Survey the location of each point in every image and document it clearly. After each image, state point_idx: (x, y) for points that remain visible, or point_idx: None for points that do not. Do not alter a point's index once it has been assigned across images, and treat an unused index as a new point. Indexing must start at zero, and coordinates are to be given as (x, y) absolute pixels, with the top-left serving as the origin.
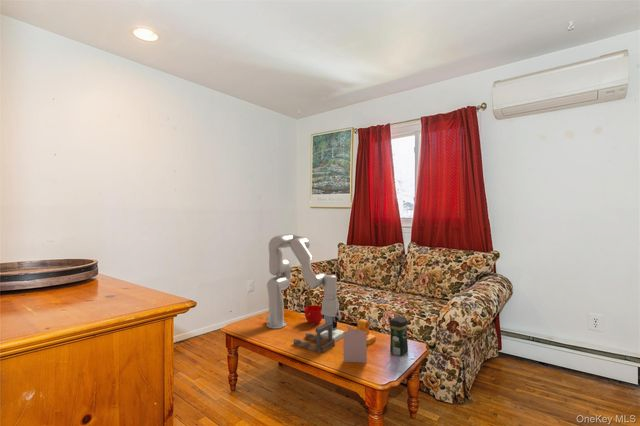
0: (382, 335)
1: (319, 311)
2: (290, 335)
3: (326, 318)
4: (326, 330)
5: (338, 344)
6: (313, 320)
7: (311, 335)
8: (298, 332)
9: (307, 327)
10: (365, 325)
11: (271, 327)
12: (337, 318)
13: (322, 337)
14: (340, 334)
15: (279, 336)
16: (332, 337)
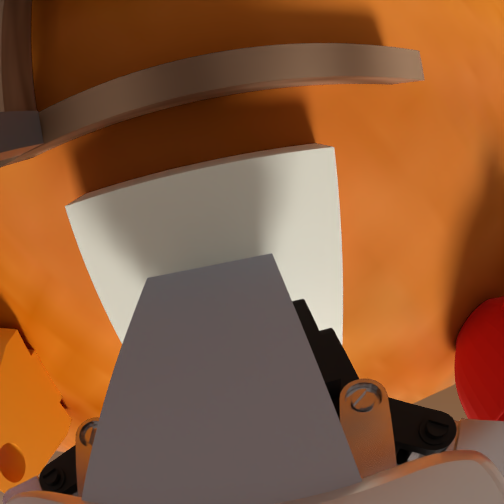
0: (67, 447)
1: (499, 405)
2: (486, 48)
3: (276, 422)
4: (247, 258)
5: (35, 204)
6: (494, 320)
7: (329, 46)
8: (491, 129)
9: (489, 248)
10: (4, 456)
11: None
12: (41, 479)
13: (142, 85)
14: (117, 330)
15: (499, 7)
16: (85, 209)
